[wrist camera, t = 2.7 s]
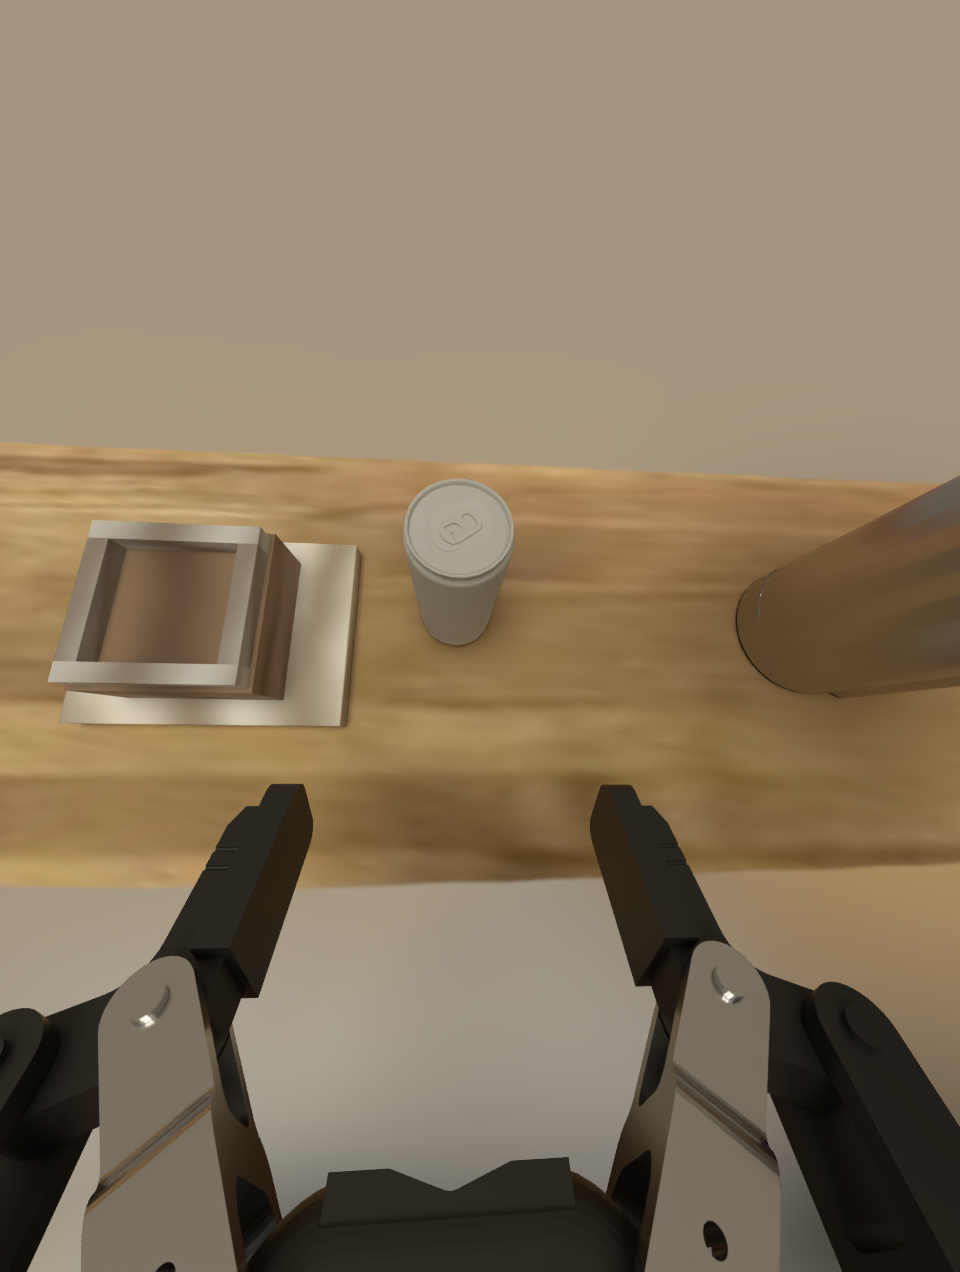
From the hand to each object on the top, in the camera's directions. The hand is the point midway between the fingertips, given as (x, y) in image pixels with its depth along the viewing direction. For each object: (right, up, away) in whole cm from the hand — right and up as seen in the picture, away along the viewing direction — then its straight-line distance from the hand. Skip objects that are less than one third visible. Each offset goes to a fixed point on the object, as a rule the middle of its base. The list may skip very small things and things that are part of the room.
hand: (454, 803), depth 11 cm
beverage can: (-1, +6, +17) cm, 18 cm away
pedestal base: (-16, +5, +16) cm, 23 cm away
